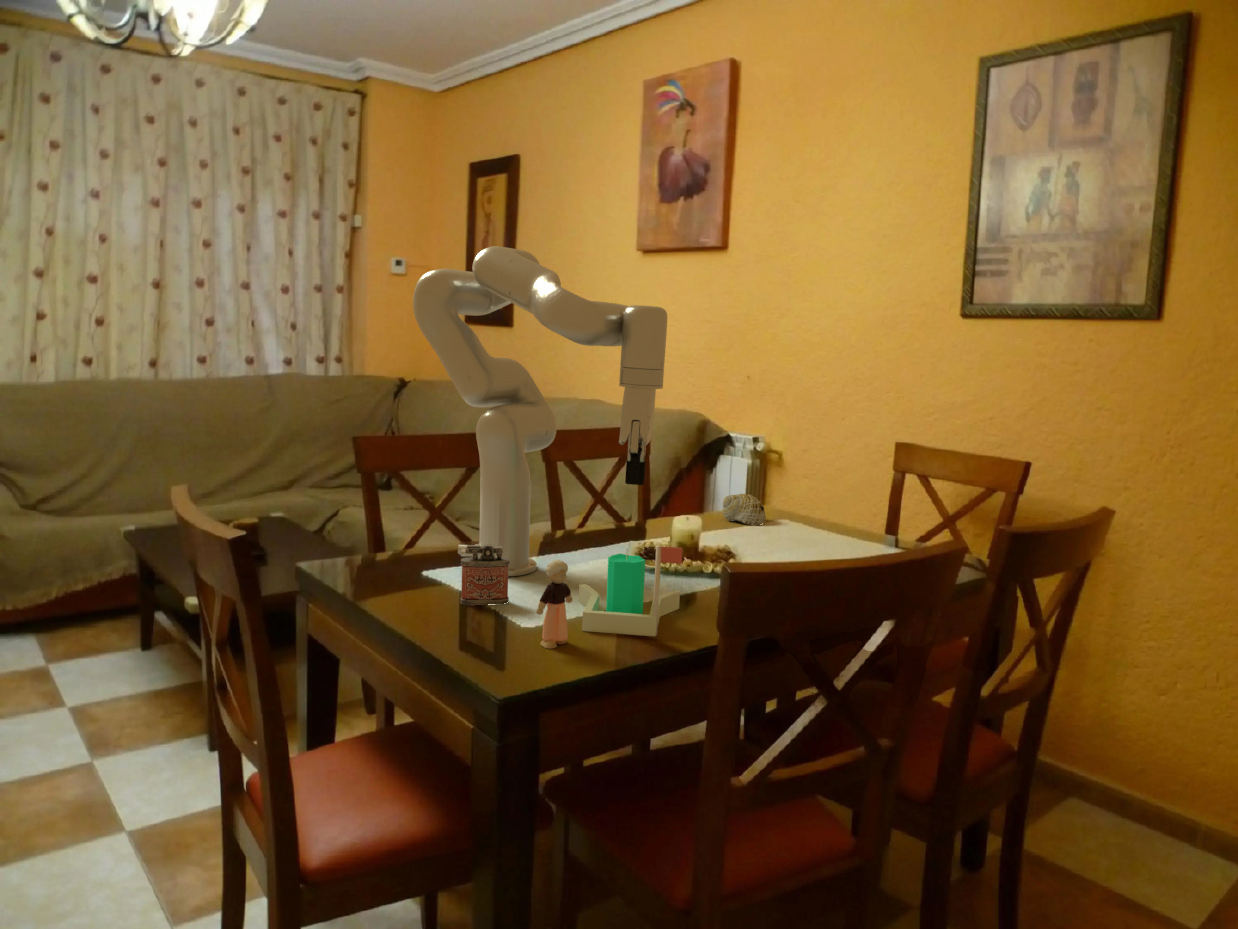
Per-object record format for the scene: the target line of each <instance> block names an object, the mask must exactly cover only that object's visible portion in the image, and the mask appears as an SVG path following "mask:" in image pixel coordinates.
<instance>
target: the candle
mask: <svg viewBox="0 0 1238 929" xmlns="http://www.w3.org/2000/svg"><path fill="white" fill-rule="evenodd" d="M626 551H628V548H626ZM645 574H646V559H644V558H642V557H641V556H640V555H628V552H626V554H624V553H616V554H612V555H610V556H608V558H607V576H606V578H607V579H606V580H607V581H606V583H607V584H606V603H605V604H606V605H605V608H606V609H605V611H606V612H619V613H633V614H644V601H645V596H644V595H645V576H646V575H645Z"/></svg>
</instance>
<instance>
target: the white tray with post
mask: <svg viewBox="0 0 1238 929" xmlns="http://www.w3.org/2000/svg"><path fill="white" fill-rule="evenodd" d="M661 563H665V564H666V563H668V564H679V565H680V564H682V563H683V547H672V546H661V545H656V546H655V562H654V585H653V586H654V587H653V600H652V603H651V606H650V611H649V613H648V614H646V613H645V614H644V613H643V614H633V613H619V612H606V610H605V611H604V610H600V593H599V592H597V591H596V590H595V589H593V588H592V587H590V586H589V585H588V584H586V583H579V585H578V602H579V601H580V602H581V603H582V604H583V605H582V604H581V603H580V602H579V603H580V604H581V605H582V606H584V609H583V612H582V627H581V631H582V632H592V633H593V632H594V633H603V634H605V633H606V634H618V635H630V636H631V635H632V636H643V637H644V636H646V637H656V636H657V637H658V629H659V628H658V627H659V622H660V618H661V617H662V616H665V615H667V614H669V613H672V612H675V611H678V610H679V609H680V600H681V599H680V597H681V591H679V590H676V589H674V590H671V591H668V592H665V593H663V594H661V595H660V587H661V586H660V585H661V584H660V582H661Z"/></svg>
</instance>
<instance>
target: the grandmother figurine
mask: <svg viewBox="0 0 1238 929" xmlns="http://www.w3.org/2000/svg"><path fill="white" fill-rule="evenodd" d="M568 570H569V565H568V564H567V563H566V562H565V561H564V560H560V559H555V560H552V561H551V562H549V563H548V564H547V565H546V567H545V572H546V575H547V577H548V578H549V580H550V583H549V584H547V586H546V588H545V590H544V592H543V593H542V595H541V597H540V599H539V603H538V605H537V609H536V610H535V612H536V614H537V615H540V616H541V615H543V613H544V610H545V608H546V607H547V609H546V612H545V614H544V618H543V625H542V636H541V638H542V639H543V640H541V642H540V644H539V645H540V646H542V647H543V648H545V649H550V650H551V649H555V648H557V647H558V645H563V644H567V643H568V639H569V635H568V634H569V632H568V621H567V620H568V619H567V611H566V603H568V604H570V603H572V602H573V597H572V594H571V592H572V590H571V589H570V587H569V585H568V583H565V581H566V579H567V572H568Z"/></svg>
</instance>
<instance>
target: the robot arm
mask: <svg viewBox="0 0 1238 929" xmlns="http://www.w3.org/2000/svg"><path fill="white" fill-rule="evenodd" d="M561 284H562V283H561V279H560V276H559V274H558V273H557V272H555V271H553V269H550V268H547V267H545V266H543V265H541V263H540V261H539V260H538V259H537V257H535V256H534V254H532V253H531V252H528V251H526V250H523V249H517V248H511V247H506V246H498V245H497V246H496V245H493V246H488V247H486V248H484V249H482V250H481V251H479V252H478V253H477V255H475V257H474V259H473V262H472V271H468V270H459V269H452V268H439V269H433V270H429V271H427V272H425V273H424V274H422V276H421V277H420V278H419V279H418V280H417V282H416V284H415V288H414V291H413V297H412V307H413V309H412V310H413V315H414V319H415V321H416V324H417V326H418V327H419V329H420V330H419V331H420V332H421V333H422V335H423V336H424V338H425V339H426V340H427V342H428V343H429V345H430V347H432V349H433V351H434V352H435V354H436V355H437V357H438V359H439V361H440V362H441V364H442V366H443V368H444V370H445V372H446V373H447V375H448V377H449V379H450V380H451V382H452V384H453V386H454V387H455V389H456V390H457V393H458V395H459V396H460V397H461V399H462V400H463V401H464V402H465V403H466V404H467V405H469V406H470V407H474V408H488V409H487V410H486V411H484V412H483V413H482V414H481V415H480V417H479V418H478V421H477V424H476V429H475V440H476V442H477V449H478V454H479V456H478V457H479V467H480V468H479V470H480V471H479V472H480V473H479V474H480V476H479V477H480V478H479V481H480V482H479V483H480V484H479V487H480V493H479V494H480V495H479V497H480V498H479V542H478V543H475V544H474V545H480V546H484V545H485V544H491V546H502V547H503V553H502V556H501V557H502V558H508V559H510V563H509V565H508V577H518V576H524V575H528V574H531V573H533V572H535V571H536V570H537V567H538V566H537V565H538V563H537V561H536V560H535V559H533V558H530V533H531V532H530V526H531V491H532V489H531V486H532V482H531V480H532V478H531V470H530V467H529V463H528V461H527V457H526V454H525V453H530V452H531V453H532V452H536V451H541V450H544V449H546V448H548V447H549V446H550V445H551V444H552V443H553V442H554V440H555V438H556V435H557V422H556V421H557V420H556V418H555V414H554V413H553V411H552V409H551V407H550V405H549V404H548V402H547V400H546V399H545V397H544V396H543V393H542V392H541V390H540V389H539V388H538V386H537V384H536V383H535V381H534V379H533V377H532V375H531V374H530V372H529V371H528V370H527V368H525V366H523V364H521V363H520V362H519V361H517V360H515V359H512V358H510V357H509V358H508V357H494V356H492V355H490V354H489V353H488V351H487V350H486V348H485V346H484V345H483V343H482V342H481V340H480V338H479V337H478V335H477V334H476V333H475V331H474V330H473V329H472V328H471V327H470V326H469V325H468V324H467V323H466V322H464V320H462V318H461V317H460V315H461V316H475V317H477V316H485V315H488V314H491V313H493V312H495V311H497V310H499V309H502V308H504V307H506V306H509V305H510V304H514V305H515V306H517V307H519V308H520V309H523V310H524V311H527V312H528V313H530V314H532V315H533V317H534V318H535V319H536V320H537V322H539V324H541V325H542V326H543V327H545V328H546V329H548V330H550V331H552V333H553V332H554V333H555V334H558V335H559V336H561V337H562V338H563V337H564V338H565V339H567V340H569V341H571V342H573V343H575V344H578V345H582V346H586V347H587V346H588V347H594V346H596V347H597V346H598V347H599V346H600V347H621V348H620V365H619V366H620V367H619V368H620V369H619V381H618V382H619V387H622V388H624V389H623V397H622V405H621V418H620V428H619V437H618V443H619V444H620V445H625V443H626V442H628V443H627V460H626V465H625V477H624V478H625V481H624V482H625V484H627V485H635V486H643V485H644V483H645V479H646V476H645V475H646V463H647V462H646V461H645V460H646V450H647V448H646V447H647V445H648V444H649V443H650V441H651V440H652V433H653V427H654V426H653V425H654V418H655V408H656V407H655V406H656V393H657V391H656V390H661V389H663V388H664V376H665V361H666V359H665V358H666V346H667V345H666V344H667V331H668V330H667V329H668V313H667V310H666V309H665V308H663V307H661V306H653V305H638V304H636V305H635V304H634V305H625V304H621V303H616V302H615V303H613V302H609V301H608V302H606V301H598V300H597V301H595V300H594V301H593V300H589V299H586V298H584V297H581V296H579V295H577V294H575V293H573V292H571V291H570V290H567V289H565V288H564V287H562V286H561ZM467 545H468V544H458V547H457V554H458V555H460V557H464V558H470V557H473V554H466V553H465V550H466V546H467ZM494 555H495V557H497V555H496V554H494ZM480 556H481V554H478V557H480Z"/></svg>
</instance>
